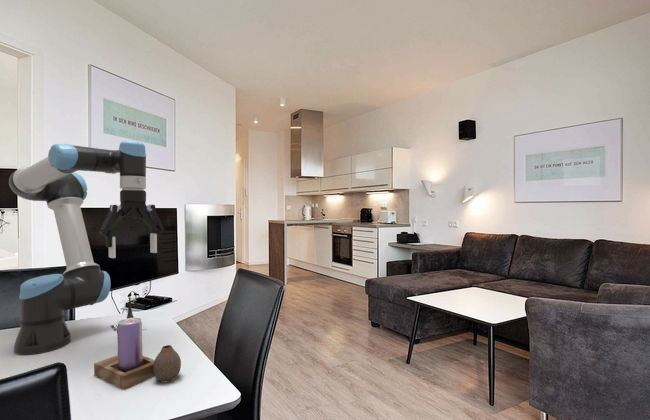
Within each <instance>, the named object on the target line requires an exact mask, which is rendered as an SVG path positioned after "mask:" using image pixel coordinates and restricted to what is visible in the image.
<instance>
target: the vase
mask: <svg viewBox="0 0 650 420" xmlns="http://www.w3.org/2000/svg"><path fill="white" fill-rule="evenodd" d="M154 360H155V361H154V365H153V372H154V375H155V377H154V378H155V379H156V380H157V381H159V382H161V383H168V382H172V381H174V380H176V378H177V377H178V375H179V374H180V371H181V367H182V361H181V357H180V355H179V353H178V352H177V350H175V349H174V348H173V346H172V345H171V344H166V345H163V346H162V347H161V349H160V351H159V352H158V353H157V355H156V356H155V359H154Z"/></svg>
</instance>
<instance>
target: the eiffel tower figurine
mask: <svg viewBox="0 0 650 420" xmlns="http://www.w3.org/2000/svg"><path fill="white" fill-rule="evenodd" d="M131 299H132V297H131V296H129V297H128V310H127V314H126V318H125V319H127V318H135V317H134V313H133V311H132V302H131V301H132V300H131ZM114 325H116V324H113V325H110V327H111V328H112V329H113V327H114ZM117 325H118V324H117ZM117 325H116V327H117ZM115 329H116V328H115V327H114V329H113V330H114V331H115ZM145 330H146V328H144V329H143V331H145Z"/></svg>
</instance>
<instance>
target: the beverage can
mask: <svg viewBox="0 0 650 420" xmlns="http://www.w3.org/2000/svg"><path fill="white" fill-rule="evenodd" d="M126 318H127V317H126ZM126 318H123V319H121V320H119V321H118V322H117V325H118V326H116V329H117V334H116V335H117V355H118V370H119V371H122V372H124V373H125V372H128V371H130V370H133V369H135V368H138V367H141V366H143V356H144V355H143V322H142V318H141V317H134V318H127V319H126Z"/></svg>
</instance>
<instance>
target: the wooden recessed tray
mask: <svg viewBox="0 0 650 420" xmlns="http://www.w3.org/2000/svg"><path fill="white" fill-rule="evenodd" d="M154 361H155V359H153V358H150V357H148V356H145V355H143V366H141V367H138V368H135V369H133V370H130V371H128V372H125V373H124V372H122V371H119V370H118V354H116V355H114V356H110V357H108V358H105V359H102V360H99V361H97V362H94V363H93V373H94V374H93V376H94V377H96V378H99V379H100V380H103V381H104V382H106V383H108V384H111V385H113V386H114V387H118V388H119V389H121V390H126V389H129V388H131V387H134V386H135V385H138V384H140V383H143V382H145V381H147V380H151V379H152V378H156V377H155V375H154V372H153V365H154Z"/></svg>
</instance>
